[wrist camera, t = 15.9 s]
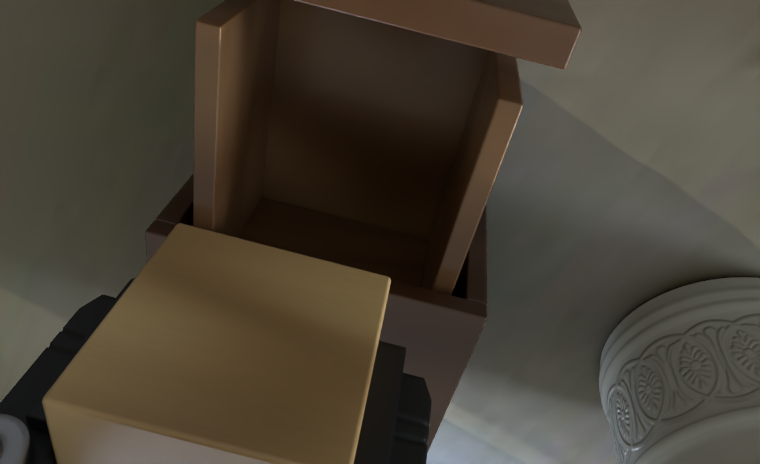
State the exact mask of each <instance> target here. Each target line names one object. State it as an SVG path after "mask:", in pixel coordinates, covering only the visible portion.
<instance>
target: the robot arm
mask: <svg viewBox="0 0 760 464" xmlns="http://www.w3.org/2000/svg"><path fill="white" fill-rule="evenodd" d="M135 278H136V277H135ZM135 278H133V279H131V280H130V281H129V282H128V283H127V285H126V286H125V287H124V289H123V290H122V291H121V292H120V294H119V295H118V296H117V298H114V297H110V296H106V295H101V296H99V297H98V298H96V299H94V300H93V301H91V302H89V303H88V304H86V305H85V306H83V307H81V308H80V309H79V310H78V311H77V312H76V313H75V314H74V316H73V317H72V318H71V319H70V320H69V322H68V323H67V324H66V325H65V326H64V327H63V331H62V332H59V333H58V335H57V336H56V337H55V338H54V339H53V341H52V342H51V343H50V346H49V348H46V349H45V350H44V351H43V353H42V354H41V355H40V356H39V357H38V359H37V360H36V361H35V362H34V363H33V365H32V366H31V367H30V368H29V369H28V371H27V372H26V373H25V374H24V375H23V376H22V378H21V379H20V380H19V381H18V382H17V384H16V385H15V386H14V387H13V388H12V390H11V391H10V392H9V393H8V394H7V396H6V397H5V398H4V399H3V400H2V402H1V403H0V464H57V462H56V458H55V454H54V450H53V446H52V442H51V438H50V433H49V429H48V425H47V421H46V417H45V413H44V409H43V405H42V401H43V397H44V396H45V394H46V393H47V392H48V391H49V389H50V388H51V387H52V385H53V384H54V383H55V382H56V380H57V379H58V378H59V376H60V375H61V374H62V372H63V371H64V370H65V369H66V367H67V366H68V365H69V363H70V362H71V361H72V359H73V358H74V357H75V356H76V354H77V353H78V352H79V350H80V349H81V348H82V347H83V345H84V344H85V343H86V341H87V340H88V339H89V337H90V336H91V335H92V334H93V332H94V331H95V330H96V328H97V327H98V326H99V325H100V323H101V322H102V321H103V319H104V318H105V317H106V315H107V314H108V313H109V312H110V310H111V309H112V308H113V306H114V305H115V304H116V303H117V301H118V300H119V299H120V297H121V296H122V295H123V293H124V292H125V291H126V290H127V288H128V287H129V286H130V284H131V283H132V282H133V280H134V279H135ZM405 355H406V347H402V346H398V345H395V344H391V343H387V342H383V341H379V343H378V347H377V352H376V357H375V362H374V367H373V372H372V377H371V381H370V386H369V391H368V396H367V401H366V406H365V411H364V416H363V420H362V425H361V430H360V435H359V440H358V445H357V450H356V454H355V459H354V464H426V458H427V447H428V446H427V443H428V436H429V424H430V415H431V404H432V399H431V396H430V394H429V391H428V388H427V385H426V382H425V379H424V378H422V377H418V376H414V375H410V374H407V373H403V369H404V362H405Z"/></svg>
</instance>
